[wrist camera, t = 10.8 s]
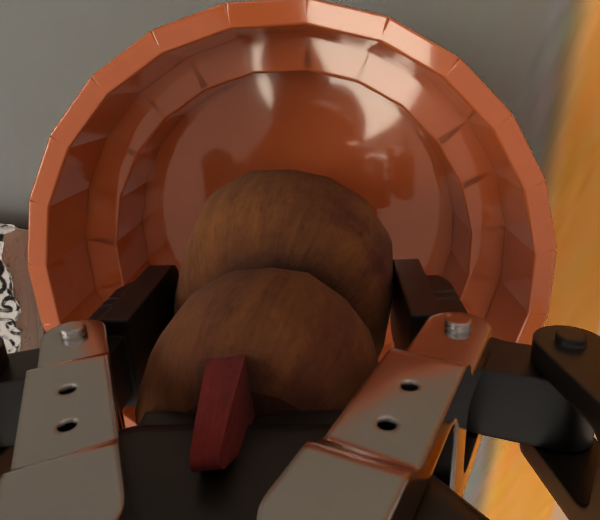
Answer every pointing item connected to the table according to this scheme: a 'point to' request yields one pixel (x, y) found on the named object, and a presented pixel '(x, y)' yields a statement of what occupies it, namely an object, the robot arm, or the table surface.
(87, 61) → the table surface
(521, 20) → the table surface
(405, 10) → the table surface
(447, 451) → the robot arm
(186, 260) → the wooden figurine
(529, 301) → the bowl
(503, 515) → the table surface
